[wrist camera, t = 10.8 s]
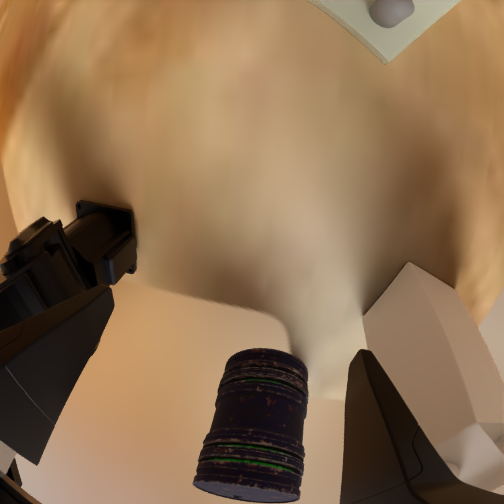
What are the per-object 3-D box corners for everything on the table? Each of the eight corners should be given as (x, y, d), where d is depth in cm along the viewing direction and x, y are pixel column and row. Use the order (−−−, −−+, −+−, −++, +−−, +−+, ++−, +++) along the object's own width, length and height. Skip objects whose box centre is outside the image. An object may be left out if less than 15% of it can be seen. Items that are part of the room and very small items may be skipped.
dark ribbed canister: (237, 336, 28) (199, 474, 15) (324, 361, 28) (322, 494, 15) (216, 382, 33) (185, 487, 20) (288, 402, 33) (275, 505, 21)
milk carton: (456, 289, 21) (529, 470, 5) (411, 338, 25) (445, 511, 9) (407, 259, 21) (489, 490, 5) (360, 317, 24) (380, 527, 8)
